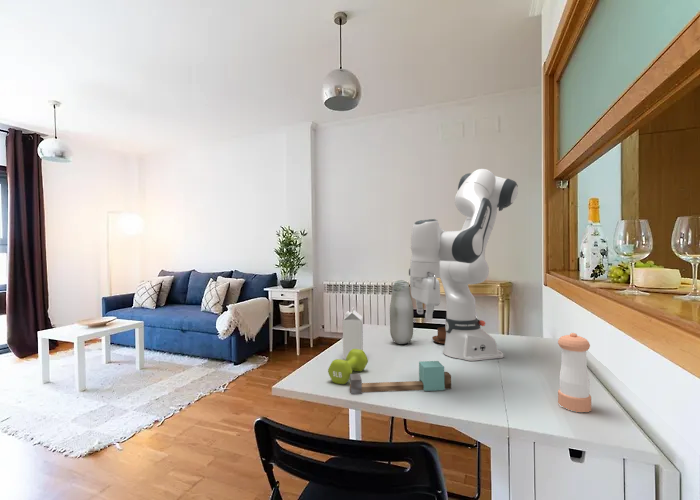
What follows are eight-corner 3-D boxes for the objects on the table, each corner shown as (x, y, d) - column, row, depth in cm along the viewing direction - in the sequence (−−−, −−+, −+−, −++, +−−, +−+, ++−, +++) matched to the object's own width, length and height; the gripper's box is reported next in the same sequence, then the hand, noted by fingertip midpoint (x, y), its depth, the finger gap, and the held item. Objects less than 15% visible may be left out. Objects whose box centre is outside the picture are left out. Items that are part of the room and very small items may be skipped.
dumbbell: (349, 367, 124) (349, 347, 124) (369, 370, 120) (369, 349, 120) (325, 383, 109) (325, 360, 109) (348, 387, 105) (348, 363, 105)
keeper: (438, 382, 107) (438, 360, 107) (444, 390, 102) (444, 366, 102) (419, 383, 107) (418, 361, 107) (424, 390, 101) (424, 367, 101)
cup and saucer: (426, 341, 159) (426, 327, 159) (448, 338, 163) (447, 325, 163) (443, 347, 148) (443, 333, 148) (465, 344, 152) (465, 330, 152)
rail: (446, 383, 107) (446, 370, 107) (452, 390, 102) (452, 376, 102) (349, 387, 105) (349, 374, 105) (350, 394, 100) (350, 380, 100)
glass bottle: (393, 339, 161) (392, 279, 161) (415, 341, 157) (414, 279, 157) (387, 345, 152) (386, 280, 152) (410, 347, 148) (409, 281, 148)
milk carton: (363, 354, 138) (362, 306, 138) (361, 360, 131) (361, 309, 131) (345, 354, 138) (344, 306, 139) (343, 360, 131) (342, 309, 131)
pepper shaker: (558, 409, 89) (557, 334, 89) (558, 398, 95) (557, 328, 96) (592, 415, 85) (591, 337, 86) (590, 404, 92) (589, 331, 92)
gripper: (446, 273, 97) (445, 323, 97) (425, 270, 117) (425, 311, 117) (424, 273, 97) (423, 323, 96) (407, 269, 117) (406, 311, 117)
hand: (424, 316), depth 107 cm, fingers open, 8 cm apart
